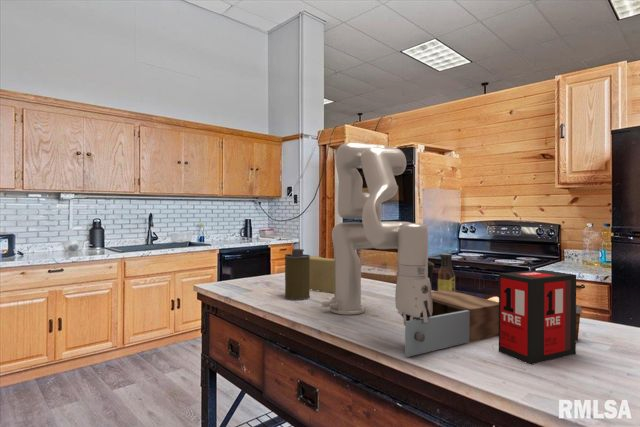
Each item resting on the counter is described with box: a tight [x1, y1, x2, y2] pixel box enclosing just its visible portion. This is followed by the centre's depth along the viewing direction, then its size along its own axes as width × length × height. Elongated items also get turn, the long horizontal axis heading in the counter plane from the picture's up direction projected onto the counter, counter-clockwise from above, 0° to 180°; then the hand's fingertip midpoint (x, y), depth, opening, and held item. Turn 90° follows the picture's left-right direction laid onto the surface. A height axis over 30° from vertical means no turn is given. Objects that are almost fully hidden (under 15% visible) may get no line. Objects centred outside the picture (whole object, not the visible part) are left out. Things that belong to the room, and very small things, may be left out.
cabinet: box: [427, 290, 499, 343], centre depth 115 cm, size 14×22×9 cm, turn 27°
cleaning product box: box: [498, 269, 577, 365], centre depth 95 cm, size 16×9×20 cm, turn 114°
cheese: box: [309, 255, 335, 294], centre depth 168 cm, size 22×10×15 cm, turn 48°
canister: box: [284, 248, 311, 301], centre depth 155 cm, size 11×10×20 cm
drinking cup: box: [427, 260, 435, 286], centre depth 159 cm, size 8×8×20 cm
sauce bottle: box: [437, 253, 456, 292], centre depth 141 cm, size 7×6×20 cm
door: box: [404, 310, 470, 358], centre depth 96 cm, size 3×22×8 cm, turn 119°
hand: (412, 341), depth 97 cm, fingers closed
